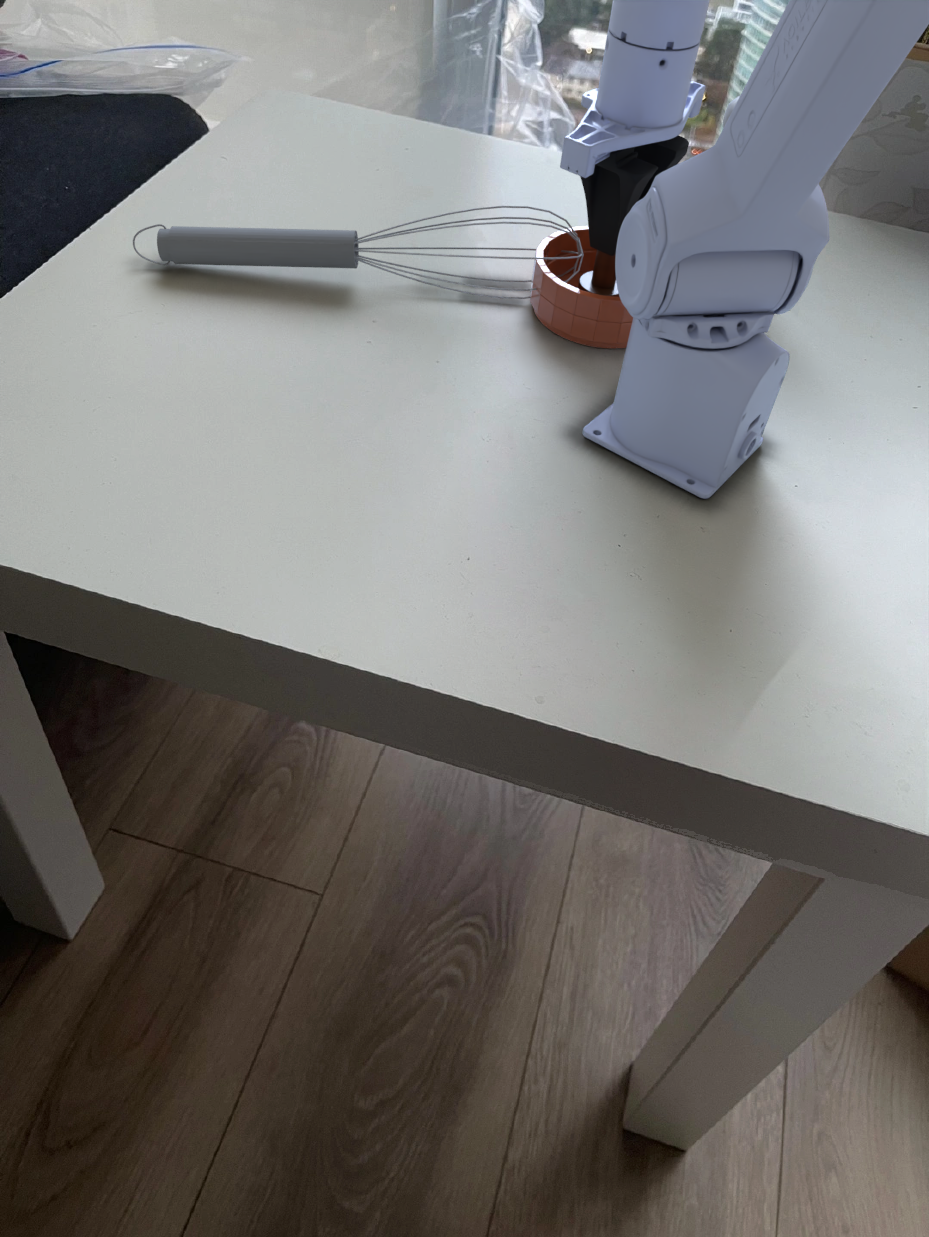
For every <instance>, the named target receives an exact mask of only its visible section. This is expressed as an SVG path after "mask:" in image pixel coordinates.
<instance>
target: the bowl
mask: <svg viewBox="0 0 929 1237" xmlns="http://www.w3.org/2000/svg"><path fill="white" fill-rule="evenodd" d="M571 227H572V228H573V229H574V231H575V232H576V233H577V237H578V238H579V239H580V243H581V247H582V251H583V254H584V256H583V259H582V263H581V267H580V271H579V272H578V273H577V274H576V275H575V276H574V277H573V278H572V279H570V280H569V281H568V282H567V283H565V282H564V281H567V280H568V279H569V278H570V277H571V276H572V275H573V272H574V269H572V270H571V271H569V272H568V273H566V274H565V275H563V276H561V277H557V276H558V275H562V274H563V273H565V272H566V271H568V270H569V269H571V268H572V267H574V265H575V263H576V261H577V258H572V259H533V260H534V261H533V268H532V275H531V280H532V282H530V289H533V288H536V290H532V291H529V296H530V298H529V299H530V300H529V302H530V305H531V306H532V310H533V312H534V315H535V316H536V318H537V320H539V322H540V323H541V324H542V325H543V326H544V327H545V328H546V329H548V330H549V331H551V332H552V333H554V334H556V335H557V336H558V337H561V338H563V339H565V340H567V341H570V342H573V343H575V344H579V345H583V346H587V347H592V348H599V349H612V350H613V349H626V347H627V343H628V338H629V334H630V330H631V325H632V321H633V317H632V316H631V315H630V314H629V312H628V311H627V309H626V308H625V306H624V305H623V303H622V301H621V299H620V297H614V296H603V295H598V294H594V293H590V292H587V291H583V290H580V289H578V284H579V279H580V277H581V276H582V275H583V274H584V273H586V272H589V271H593V268H594V263H595V258H596V252H597V249H594V248H592V247H590V241H589V229H588V225H581V226H580V225H579V226H578V225H577V226H571ZM568 228H569V229H570V230H571V228H570V227H568ZM562 229H563V230H566V231H568V230H567V229H565V228H562ZM571 231H572V230H571ZM568 232H569V231H568ZM572 232H573V231H572ZM573 233H574V232H573ZM535 249H536V251H535V253H534V257H573V256H578V254H574V253H566V252H561V251H562V250H565V251H573V252H578V250H577V242H576V241H575V240H574V239H573V238H572V237H571V236H570V235H569V234H568V233H566V232H563V231H560V230H556V231H554V232H552V233H551V234H549V235H547V236H546V237H544V238H543V239H542V240H541V241H540V243H539V245H538V246H537V247H536V248H535ZM580 251H581V250H580ZM580 260H581V257H580V258H579V261H578V264H577V267H576V271H578V268H579V264H580ZM576 271H575V272H576Z"/></svg>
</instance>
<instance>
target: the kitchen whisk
mask: <svg viewBox="0 0 929 1237" xmlns="http://www.w3.org/2000/svg"><path fill="white" fill-rule="evenodd" d="M492 209H493V210H494V209H529V210H535V211H540V212H544V213H549V214H550V215H553V216H554V217H556V218H558V219H560V220H562V221H564V222H565V223H566V224H567V226H568V227H567V226H565V225H563V224H561V223H558V222H555V221H552V220H548V219H543V218H542V219H541V218H536V217H527V216H499V217H498V216H497V217H494V216H493V217H479V218H471V219H462V220H453V221H447V222H441V223H436V224H435V223H434V224H428V225H423V226H422V225H421V226H418V227H413V228H408V229H401V230H397V231H394V232H389V233H385V234H381V233H384V232H387V231H390V230H393V229H397V228H401V227H404V226H408V225H411V224H415V223H420V222H423V221H428V220H432V219H436V218H441V217H444V216H449V215H455V214H456V215H457V214H462V213H466V212H473V211H482V210H492ZM490 220H531V221H537V222H544V223H536V222H531V221H530V222H529V221H491V222H490ZM477 221H487V222H477ZM467 222H468V223H467ZM469 222H471V223H469ZM472 222H473V223H472ZM459 223H460V224H459ZM461 223H462V224H461ZM463 223H464V224H463ZM546 223H549V224H546ZM452 224H453V225H452ZM502 224H504V225H531V226H540V227H545V228H552V229H555V230H556V231H559V230H560V231H563V232H566V233H568V234H569V235H570V236H571V237H572V238H573V239H574V240H575V241H576V242H577V250H578V252H573V251H565V250H562V251H561V252H566V253H574V254H578V256H573V257H535V256H534V257H533V256H531V257H529V256H495V255H493V256H492V255H491V256H490V255H469V254H468V255H467V254H465V255H464V254H442V253H421V252H407V251H406V252H404V251H389V250H492V251H493V250H495V251H496V250H497V251H498V250H499V251H533V252H534V251H535V252H536V249H537V248H528V247H525V248H524V247H523V248H522V247H473V246H472V247H469V246H467V247H466V246H465V247H461V246H460V247H459V246H458V247H457V246H456V247H455V246H454V247H453V246H450V247H448V246H447V247H444V246H443V247H441V246H439V247H438V246H436V247H435V246H434V247H433V246H431V247H430V246H428V247H427V246H426V247H425V246H423V247H422V246H421V247H418V246H417V247H415V246H411V247H409V246H407V247H405V246H404V247H402V246H400V247H399V246H398V247H396V246H395V247H393V246H392V247H391V246H390V247H389V246H388V247H387V246H386V247H359V244H362V243H367V242H372V241H377V240H381V239H387V238H391V237H398V236H404V235H409V234H414V233H421V232H422V233H423V232H429V231H436V230H442V229H450V228H458V227H459V228H460V227H469V226H470V227H471V226H484V225H485V226H486V225H502ZM552 224H553V225H552ZM554 225H555V226H554ZM156 227H162V228H159V229H158V231H157V234H156V246H157V253H158V256H159V259H160V260H161V261H162V262H166V263H162V262H159V261H156V260H154V259H153V260H152V259H150V258H148V257H146V256H144V255H142V254H141V253H140V252H139V251H138V250H137V247H136V244H135V243H136V242H135V241H136V238H137V237H138V235H140V234H141V233H143V232H144V231H146V230H149V229H153V228H156ZM572 227H573V226H572V225H571V223H570V222H569V221H568V220H567V219H566V218H564V217H562V216H561V215H559V214H557V213H555V212H553V211H551V210H548V209H544V208H539V207H533V206H528V205H496V206H485V207H474V208H469V209H468V208H467V209H463V210H457V211H451V212H445V213H441V214H438V215H437V214H436V215H433V216H429V217H424V218H420V219H419V218H418V219H416V220H413V221H408V222H404V223H401V224H398V225H394V226H391V227H388V228H387V227H386V228H383V229H381V230H378V231H375V232H372V233H369V234H366V235H363V236H359V235H358V231H357V230H355V229H354V230H353V229H352V230H351V229H349V230H348V229H312V228H311V229H310V228H304V229H303V228H271V227H270V228H266V227H225V226H223V227H222V226H220V227H219V226H184V225H183V226H180V225H179V226H178V225H173V226H170V228H167V227H166V226H165V224H163V223H159V224H153V225H150V226H146V227H144V228H142V229H140V230H139V231H137V232H136V233H135V234H134V236H133V238H132V246H133V250H134V251H135V253H136V254H137V255H138V256H139V257H140V258H142V259H144V260H145V261H148V262H149V263H150V262H151V263H154V264H157V265H160V266H168V265H169V264H170V263H171V262H172V263H173V264H175V265H195V266H196V265H197V266H200V265H201V266H233V267H234V266H235V267H238V266H239V267H240V266H241V267H275V268H277V267H278V268H279V267H280V268H285V267H286V268H318V269H321V268H323V269H324V268H325V269H358V266H359V262H360V263H363V264H365V265H369V266H370V267H374V268H376V269H379V270H382V271H385V272H387V273H390V274H394V275H396V276H399V277H403V278H406V279H409V280H413V281H416V282H419V283H422V284H425V285H430V286H433V287H437V288H441V289H443V290H444V289H445V290H449V291H453V292H458V293H463V294H468V295H472V296H477V297H486V298H494V299H504V300H505V299H509V300H510V299H511V300H512V299H513V300H526V299H530V295H529V296H499V295H491V294H483V293H476V292H471V291H466V290H461V289H457V288H451V287H447V286H444V285H440V284H436V283H433V282H429V281H425V280H422V279H418V278H414V277H412V276H408V275H405V274H409V275H413V276H418V277H420V278H421V277H422V278H426V279H430V280H435V281H440V282H442V283H443V282H444V283H448V284H455V285H460V286H466V287H473V288H477V289H479V288H480V289H487V290H495V291H516V292H530V291H532V290H536V288H533V289H531V288H504V287H503V288H501V287H493V286H486V285H485V286H484V285H476V284H470V283H464V282H459V281H453V280H447V279H442V278H438V277H433V276H429V275H425V274H424V275H423V274H421V273H417V272H412V271H408V270H404V269H410V270H414V271H420V272H426V273H429V274H430V273H431V274H437V275H442V276H448V277H455V278H462V279H468V280H469V279H470V280H476V281H486V282H487V281H488V282H499V283H531V282H532V279H526V280H517V279H516V280H515V279H514V280H512V279H510V280H509V279H494V278H484V277H483V278H482V277H473V276H467V275H459V274H451V273H446V272H440V271H435V270H434V271H433V270H430V269H429V270H428V269H423V268H418V267H413V266H408V265H403V264H399V263H394V262H389V261H384V260H380V259H376V258H372V257H368V256H364V255H360V254H359V253H373V254H374V253H375V254H388V255H389V254H390V255H391V254H393V255H406V256H407V255H409V256H428V257H429V256H430V257H447V258H449V257H450V258H472V259H473V258H475V259H497V260H499V259H500V260H502V259H504V260H535V259H572V258H577V261H576V263H575V265H574V267H572V268H571V269H569V270H568V271H566V272H565V273H563V274H562V275H558V276H557V277H561V276H563V275H565V274H566V273H568V272H569V271H571V270H572V269H574V272H573V275H572V276H571V277H570V278H569V279H568V280H567V281H564V282H565V283H567V282H568V281H569V280H570V279H572V278H573V277H574V276H575V275H576V274H577V273H578V272H579V271H580V267H581V263H582V259H583V256H584V254H583V251H582V247H581V243H580V239H579V238H578V237H577V233H576V232H575V231H574V229H573V228H572ZM569 228H571V230H572V231H573V232H574V233H573V232H572V231H571V230H570V229H569ZM563 229H567V230H568V231H569V232H568V231H566V230H563ZM377 234H380V235H377ZM374 235H375V236H374ZM384 250H385V251H384ZM386 250H387V251H386ZM580 250H581V251H580ZM580 257H581V260H580V264H579V268H578V271H576V267H577V264H578V261H579V258H580ZM390 265H391V266H390ZM393 266H396V267H400V268H396V267H393ZM401 268H404V269H401ZM389 269H390V270H389ZM392 270H393V271H392ZM396 271H397V272H396ZM575 271H576V272H575ZM398 272H399V273H398ZM400 272H401V273H400ZM402 273H405V274H402Z"/></svg>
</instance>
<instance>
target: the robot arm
mask: <svg viewBox="0 0 929 1237" xmlns="http://www.w3.org/2000/svg"><path fill="white" fill-rule="evenodd" d="M710 1H711V0H612V4H611V10H610V16H609V22H608V28H607V33H606V40H605V46H604V50H603V51H604V52H603V58H602V64H601V70H600V74H599V82H598V88H593V89H590V90H588V91H586V92H584V93H582V95H581V101H580V105H581V107H582V108H585V109H586V110H587V111H586V112H585V114H584V115H583V117H582V118H581V119H580V122H578V125H577V126H576V127H575V128H574V130H573V131H572V132H570V133H569V134H567V135H565V136H564V137H563V144H562V151H561V157H560V165H559V168H560V169H562V170H564V171H567V172H569V173H571V174H574V175H576V176H579V178H580V181H581V184H582V188H583V192H584V198H585V204H586V205H585V206H586V210H587V211H586V213H587V214H586V215H587V226H588V229H589V241H590V247H592V248H594V249H597V250H599V251H601V252H603V253H606V254H608V255H610V256H614V255H615V254H616V257H615V273H616V283H617V289H618V293H619V297H620V299H621V301H622V303H623V305H624V306H625V308H626V309H627V311H628V312H629V314H630V315H631V316H632V317H633V321H632V325H631V330H630V334H629V338H628V343H627V347H626V348H625V352H624V356H623V360H622V365H621V368H620V374H619V377H618V378H619V379H618V383H617V387H616V391H615V396H614V400H613V403H611V404H610V405H608V407H606V409H604V410H603V411H601V413H599V414H598V415H597V416H595V417H594V418H593V419H592V420H590V422H588V423H587V424H586V425H585V426H584V427H582V436H583V437H584V438H586V439H587V440H590V441H592V442H593V443H596V444H598V445H600V446H601V447H603V448H605V449H606V450H609V451H610V452H612V453H614V454H616V455H618V456H620V457H621V458H624V459H626V460H627V461H629V462H632V463H633V464H635V465H637V466H639V467H641V468H643V469H645V470H647V471H648V472H651V473H653V474H654V475H656V476H658V477H660V478H662V479H664V480H666V481H667V482H670V483H671V484H673V485H675V486H677V487H679V488H681V489H682V490H685V491H686V492H689V493H691V494H693V495H694V496H696V497H698V498H699V499H703V500H707V499H709V498H711V497H712V496H713V495H714V494H715V493H716V492H717V491H718V490H719V489H720V488H721V487H722V486H723V484H725V483H726V481H728V480H729V479H730V478H731V476H732V475H733V474H734V473H735V472H736V471H738V469H740V468H741V466H742V465H743V464H744V463H745V462H746V461H747V460H748V459H749V458H750V457H751V456H752V455H753V454H754V453H755V452H756V451H757V450H758V449H759V448H760V446H761V445H762V444H763V442H764V437H763V434H764V431H765V429H766V427H767V424H768V421H769V419H770V416H771V413H772V411H773V408H774V406H775V403H776V401H777V398H778V396H779V393H780V390H781V388H782V385H783V382H784V379H785V378H786V377H785V376H786V374H787V371H788V369H789V364H790V351H788V350H787V349H785V348H784V347H782V346H781V345H779V344H778V343H776V342H775V341H774V340H772V339H771V338H770V337H769V336H768V335H767V334H766V333H768V332H769V330H770V327H771V324H772V321H773V319H774V316H775V315H783V314H785V313H787V312H789V311H790V310H792V309H793V308H794V307H795V306H796V304H797V303H798V302H799V301H800V299H801V298H802V295H803V294H804V293H805V291H806V289H807V287H808V285H809V283H810V280H811V278H812V274H813V272H814V266H815V264H816V261H817V260H818V257H819V255H820V254H821V253H822V251H823V250H824V249H825V247H826V246H827V245H828V243H829V242H830V239H831V238H830V237H831V236H830V218H829V210H828V206H827V203H826V199H825V195H824V192H823V190H822V188H821V186H820V182H822V179H824V177H825V176H826V174H827V172H828V171H829V169H830V168H831V167H832V165H833V163H834V162H835V161H836V159H837V158H838V157H839V155H840V154H841V152H842V150H843V149H844V148H845V146H846V145H847V143H848V142H849V140H850V139H851V137H853V135H854V133H855V132H856V130H857V129H858V128H859V126H860V125H861V123H862V121H863V120H864V119H865V118H866V116H867V114H868V113H869V111H870V110H871V109H872V107H873V106H874V104H875V103H876V102H877V100H878V99H879V97H880V95H882V93H883V91H884V90H885V88H886V87H887V86H888V85H889V83H890V81H891V80H892V79H893V77H894V75H896V73H897V71H898V70H899V68H900V67H901V65H902V64H903V62H904V61H905V60H906V58H907V57H908V55H909V54H910V53H911V51H912V50H913V48H914V46H915V45H916V44H917V42H918V41H919V39H920V38H921V36H922V35H923V33H924V32H925V30H926V29H927V28H928V26H929V0H789V1H788V2H787V5H786V7H785V8H784V10H783V12H782V14H781V16H780V18H779V20H778V21H777V24H776V26H775V28H774V30H773V32H772V34H771V35H770V38H769V39H768V41H767V43H766V45H765V46H764V49H763V51H762V52H761V55H760V56H759V59H758V61H757V62H756V64H755V66H754V68H753V70H752V72H751V74H750V76H749V78H748V79H747V82H746V84H745V85H744V88H743V89H742V91H741V94H740V95H739V96H740V97H739V99H738V101H737V103H736V105H735V107H734V109H733V111H732V113H731V115H730V116H729V118H728V120H727V122H726V124H725V126H724V128H723V127H722V130H721V132H720V134H719V136H718V137H717V140H716V142H715V143H714V145H712V146H711V147H709V148H708V149H705V150H704V151H702V152H700V153H698V154H695V155H694V156H692V157H689V158H688V159H685V160H683V159H684V157H685V156H686V155H687V153H688V150H689V147H690V146H689V145H690V141H689V140H688V139H687V138H686V137H685V136H684V137H683V136H682V135H681V134H682V132H683V130H684V128H685V126H686V123H687V121H688V119H693V118H695V117H696V116H698V115H700V111H701V107H702V103H703V100H704V95H705V91H706V87H707V86H706V85H705V84H703V83H699V82H696V81H693V80H692V78H693V76H694V72H695V71H694V70H695V66H696V63H697V62H696V61H697V57H698V53H699V49H700V45H701V40H702V36H703V31H704V27H705V24H706V18H707V14H708V10H709V5H710ZM682 160H683V161H682Z"/></svg>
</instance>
